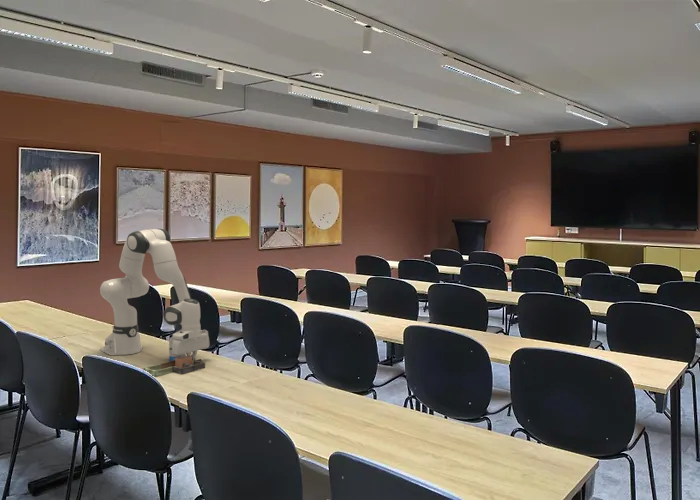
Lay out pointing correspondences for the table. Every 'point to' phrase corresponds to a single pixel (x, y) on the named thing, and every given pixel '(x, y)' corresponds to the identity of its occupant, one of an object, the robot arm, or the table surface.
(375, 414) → the table surface
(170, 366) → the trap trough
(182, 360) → the block
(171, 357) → the ink box
